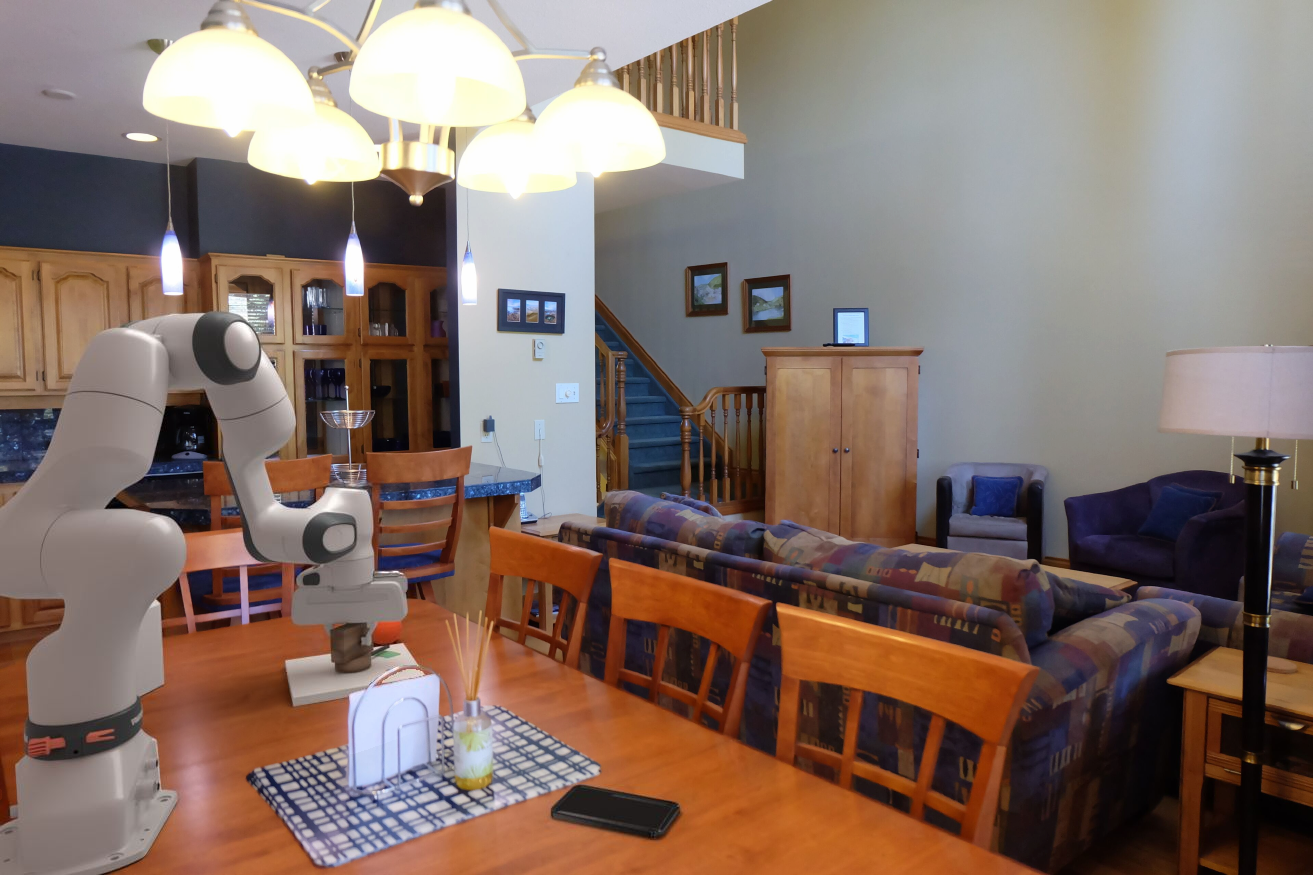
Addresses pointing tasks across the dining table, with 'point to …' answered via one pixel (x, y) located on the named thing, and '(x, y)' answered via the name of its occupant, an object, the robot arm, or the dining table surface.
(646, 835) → the phone
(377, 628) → the clementine
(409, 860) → the dining table surface
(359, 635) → the tuning knob
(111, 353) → the robot arm
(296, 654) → the dining table surface
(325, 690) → the dial plate
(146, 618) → the milk carton
